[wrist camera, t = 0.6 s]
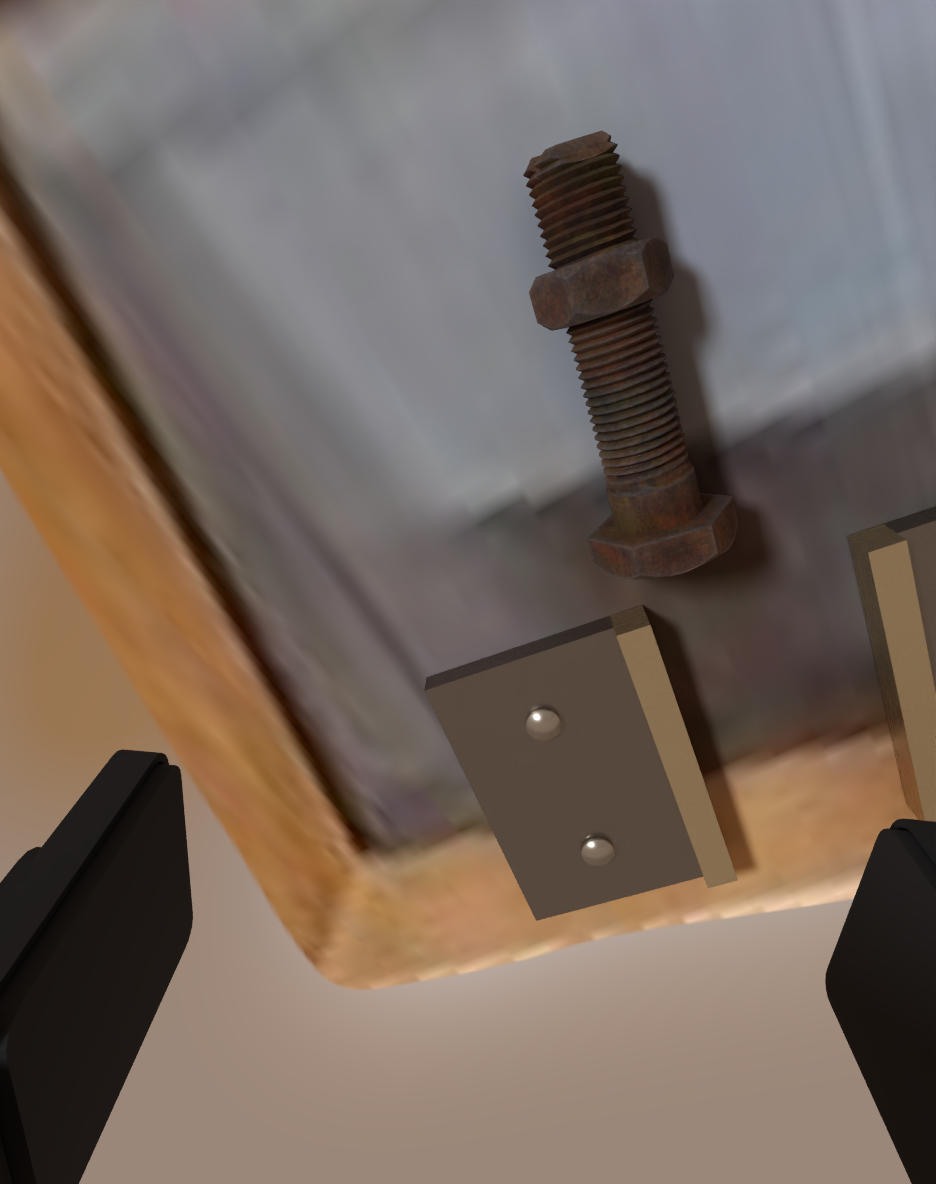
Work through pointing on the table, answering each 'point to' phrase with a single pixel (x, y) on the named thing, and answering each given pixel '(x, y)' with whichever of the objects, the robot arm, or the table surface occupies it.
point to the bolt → (622, 364)
